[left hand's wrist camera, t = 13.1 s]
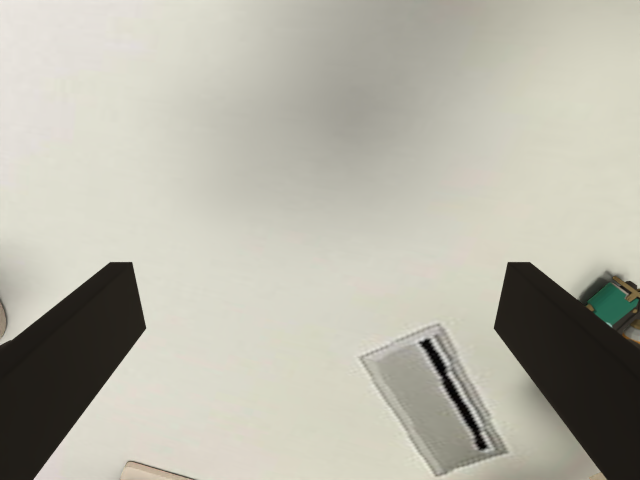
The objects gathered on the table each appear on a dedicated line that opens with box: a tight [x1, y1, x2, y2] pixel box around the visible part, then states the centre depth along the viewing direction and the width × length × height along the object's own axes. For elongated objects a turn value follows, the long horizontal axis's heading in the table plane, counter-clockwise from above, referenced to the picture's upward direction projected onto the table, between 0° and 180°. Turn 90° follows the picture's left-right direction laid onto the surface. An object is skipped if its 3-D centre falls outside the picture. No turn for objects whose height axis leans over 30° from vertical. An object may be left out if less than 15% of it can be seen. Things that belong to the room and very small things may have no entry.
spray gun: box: [586, 276, 640, 344], centre depth 46 cm, size 4×17×15 cm
